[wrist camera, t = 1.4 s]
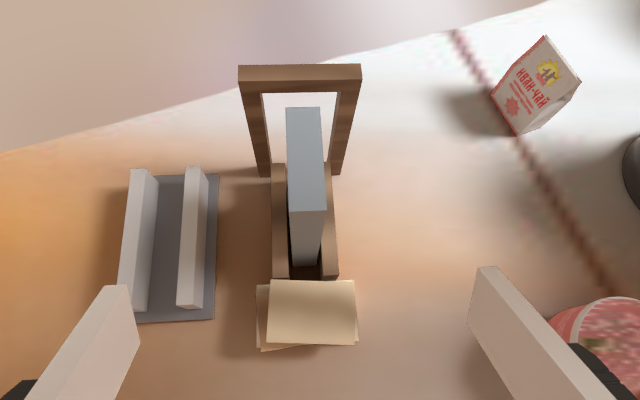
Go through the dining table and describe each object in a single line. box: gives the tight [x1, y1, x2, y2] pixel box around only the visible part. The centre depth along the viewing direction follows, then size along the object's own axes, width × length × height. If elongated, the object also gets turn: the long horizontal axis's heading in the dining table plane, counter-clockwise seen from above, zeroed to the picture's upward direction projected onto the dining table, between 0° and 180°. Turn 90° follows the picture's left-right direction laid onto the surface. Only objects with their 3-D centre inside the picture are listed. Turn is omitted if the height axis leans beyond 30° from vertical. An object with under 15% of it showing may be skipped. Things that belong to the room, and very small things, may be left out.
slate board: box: [285, 107, 327, 267], centre depth 35 cm, size 8×2×18 cm, turn 3°
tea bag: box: [490, 35, 582, 136], centre depth 46 cm, size 4×7×10 cm, turn 22°
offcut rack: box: [238, 64, 362, 352], centre depth 35 cm, size 21×10×18 cm, turn 3°
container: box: [548, 296, 640, 400], centre depth 36 cm, size 10×10×8 cm
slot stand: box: [117, 167, 219, 323], centre depth 40 cm, size 16×9×5 cm, turn 3°
